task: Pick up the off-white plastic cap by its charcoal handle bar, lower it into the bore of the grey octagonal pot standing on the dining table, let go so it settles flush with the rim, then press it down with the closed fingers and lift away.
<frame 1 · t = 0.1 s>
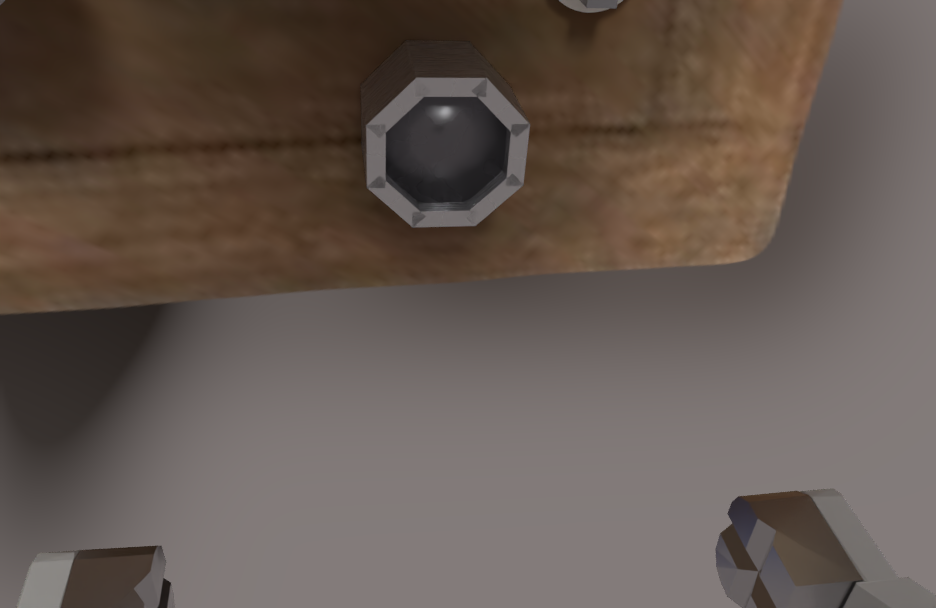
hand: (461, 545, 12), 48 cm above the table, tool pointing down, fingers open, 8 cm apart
grey octagonal pot: (434, 113, 59), on the table
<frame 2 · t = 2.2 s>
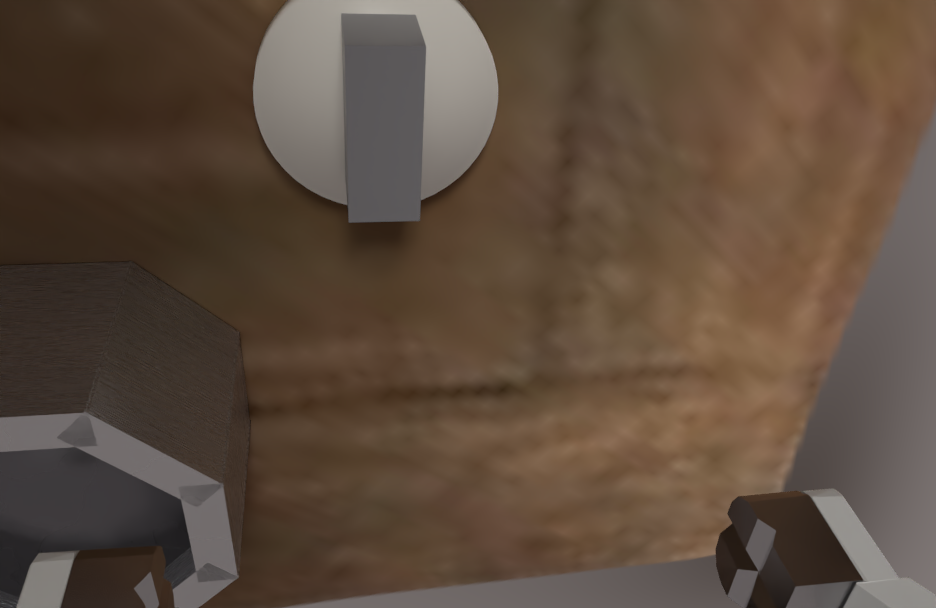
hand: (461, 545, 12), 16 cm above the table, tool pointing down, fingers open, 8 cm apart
grey octagonal pot: (93, 386, 29), on the table
cap: (375, 86, 25), on the table
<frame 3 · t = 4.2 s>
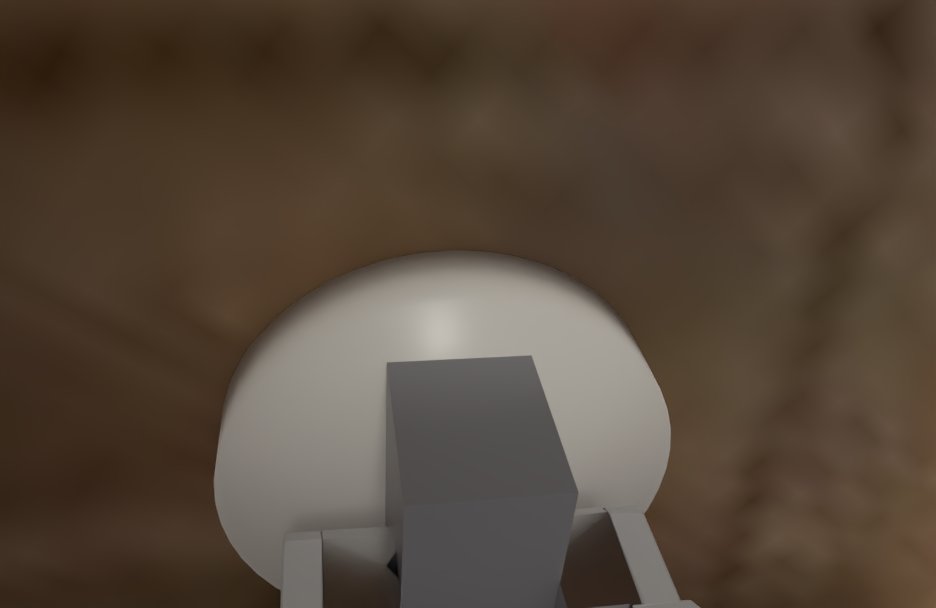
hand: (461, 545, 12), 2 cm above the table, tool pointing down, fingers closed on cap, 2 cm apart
cap: (440, 430, 14), on the table, touching gripper
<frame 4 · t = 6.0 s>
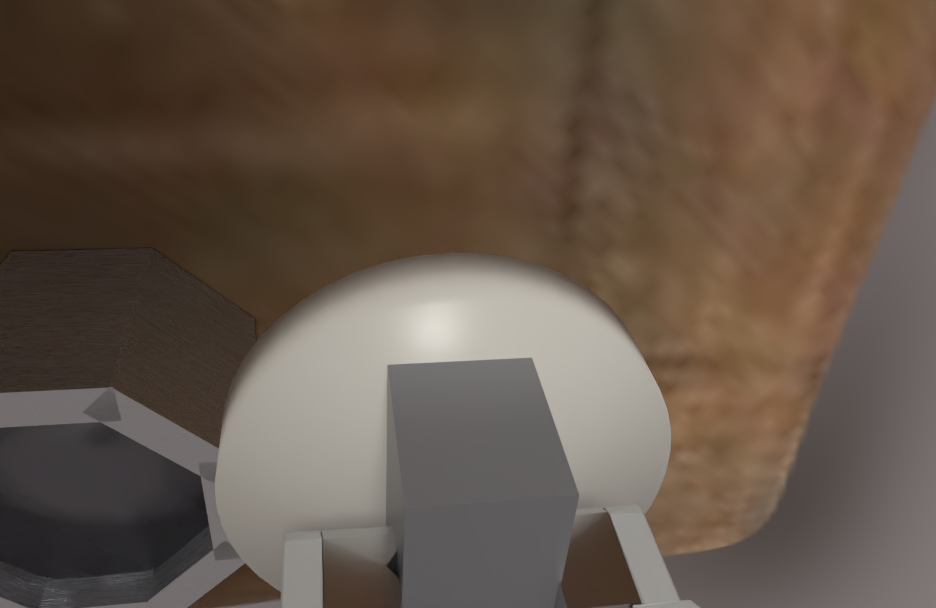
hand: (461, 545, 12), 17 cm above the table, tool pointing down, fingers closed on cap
grey octagonal pot: (112, 372, 30), on the table
cap: (441, 432, 14), point 15 cm above the table, touching gripper
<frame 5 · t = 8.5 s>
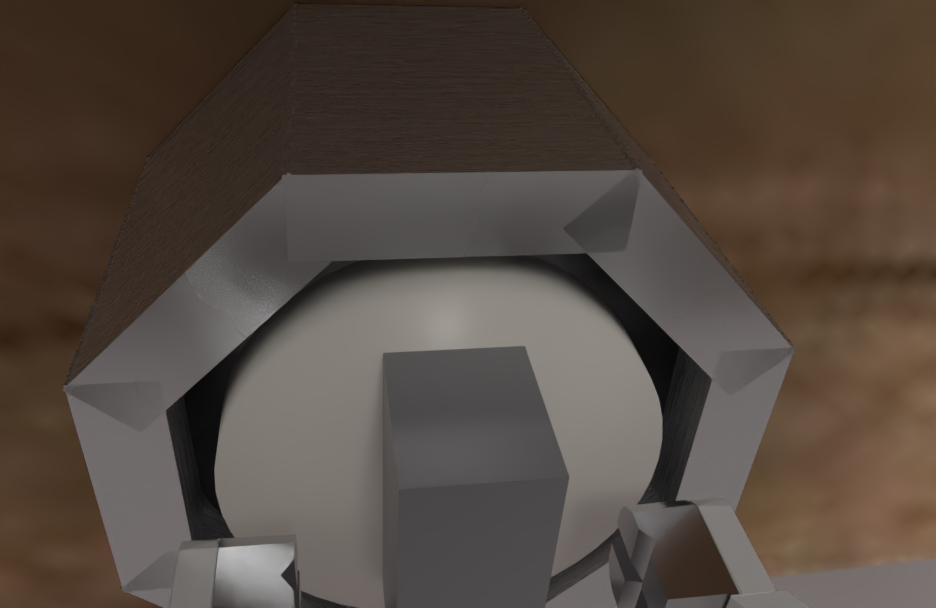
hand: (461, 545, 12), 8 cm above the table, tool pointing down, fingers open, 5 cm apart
grey octagonal pot: (406, 242, 19), on the table
cap: (437, 422, 14), point 6 cm above the table, touching grey octagonal pot
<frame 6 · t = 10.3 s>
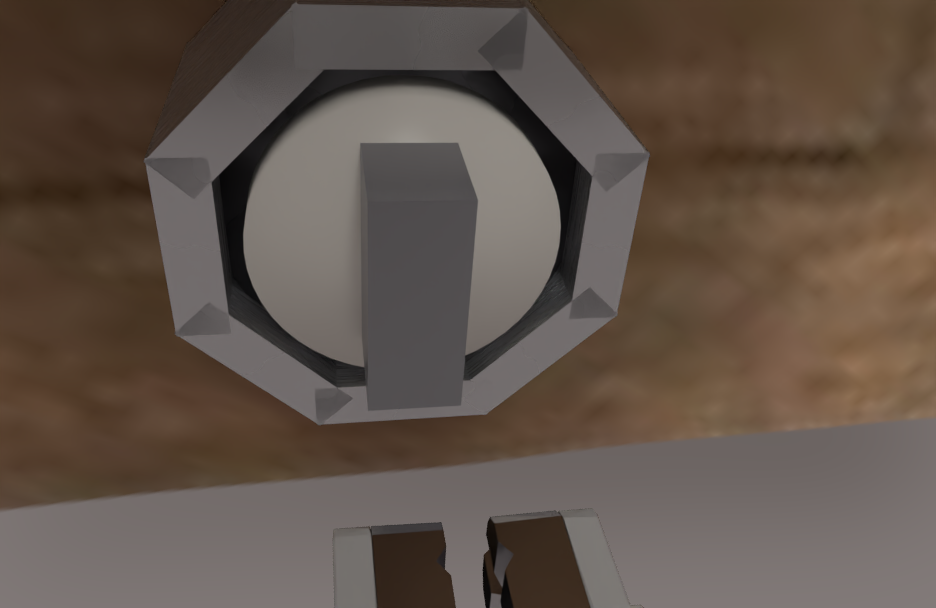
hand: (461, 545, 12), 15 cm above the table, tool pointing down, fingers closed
grey octagonal pot: (384, 120, 24), on the table
cap: (401, 220, 19), point 6 cm above the table, touching grey octagonal pot
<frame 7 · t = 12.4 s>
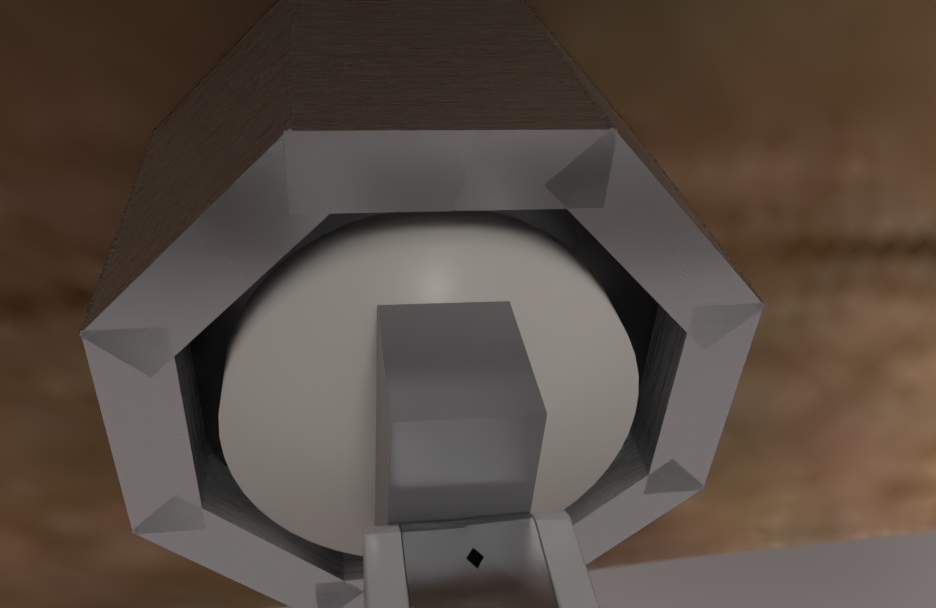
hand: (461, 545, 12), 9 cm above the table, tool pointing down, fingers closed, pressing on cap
grey octagonal pot: (401, 215, 19), on the table
cap: (427, 378, 15), point 6 cm above the table, touching grey octagonal pot, gripper
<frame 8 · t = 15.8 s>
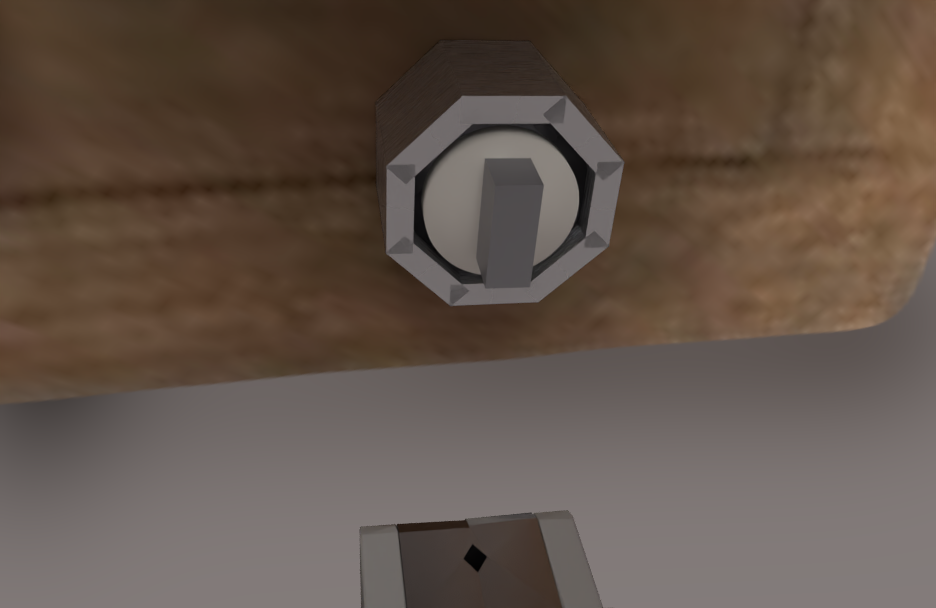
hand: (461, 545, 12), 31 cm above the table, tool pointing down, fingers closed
grey octagonal pot: (477, 142, 42), on the table
cap: (497, 197, 38), point 6 cm above the table, touching grey octagonal pot
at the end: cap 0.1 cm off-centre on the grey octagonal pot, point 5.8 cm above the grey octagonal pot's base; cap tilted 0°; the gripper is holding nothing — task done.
